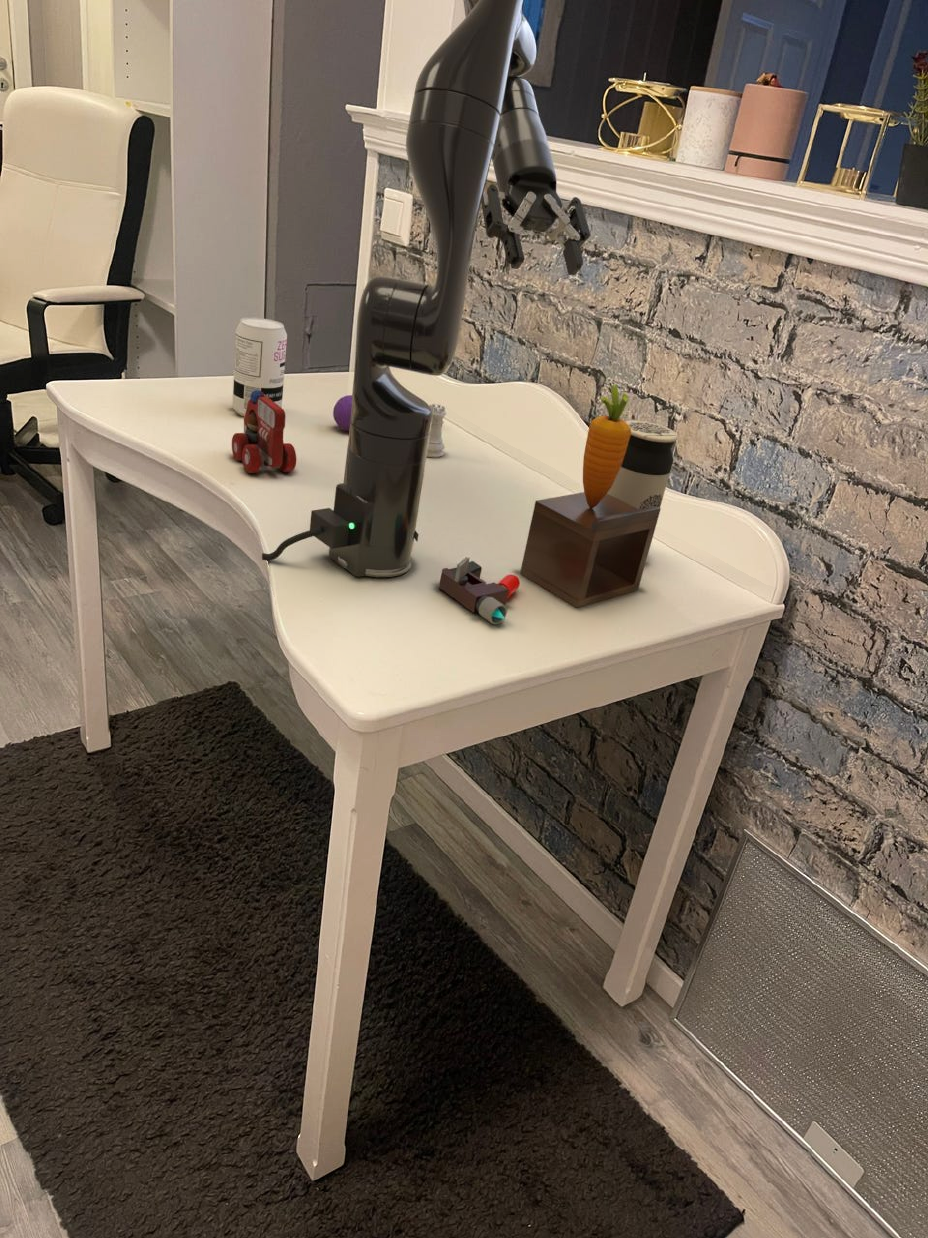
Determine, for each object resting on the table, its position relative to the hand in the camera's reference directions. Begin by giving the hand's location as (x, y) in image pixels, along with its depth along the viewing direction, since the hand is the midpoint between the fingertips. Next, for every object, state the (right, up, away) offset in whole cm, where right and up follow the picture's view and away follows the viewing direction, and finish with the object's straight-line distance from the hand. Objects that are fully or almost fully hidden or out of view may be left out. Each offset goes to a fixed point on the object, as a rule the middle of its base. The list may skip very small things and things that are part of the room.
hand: (547, 268), depth 119 cm
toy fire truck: (-40, -22, +20) cm, 50 cm away
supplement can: (-46, -9, +41) cm, 62 cm away
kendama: (-25, -11, +45) cm, 53 cm away
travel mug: (+11, -35, +12) cm, 39 cm away
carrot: (+5, -31, -3) cm, 31 cm away
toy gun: (-8, -42, -7) cm, 44 cm away
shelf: (+4, -39, +2) cm, 40 cm away
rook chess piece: (-16, -17, +37) cm, 44 cm away
